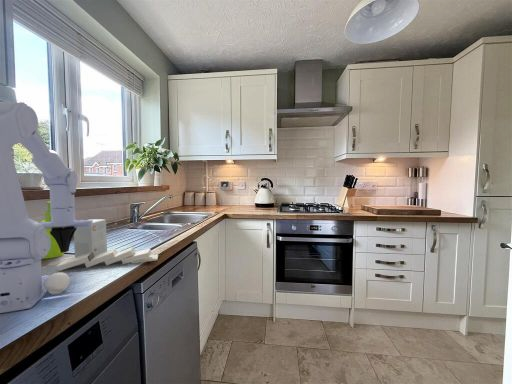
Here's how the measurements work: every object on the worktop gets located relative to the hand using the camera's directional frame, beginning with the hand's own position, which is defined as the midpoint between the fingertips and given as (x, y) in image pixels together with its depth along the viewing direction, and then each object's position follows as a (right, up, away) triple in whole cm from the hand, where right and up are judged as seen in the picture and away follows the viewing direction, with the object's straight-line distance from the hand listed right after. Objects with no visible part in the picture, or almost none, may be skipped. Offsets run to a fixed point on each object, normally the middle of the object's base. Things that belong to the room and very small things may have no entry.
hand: (64, 251), depth 71 cm
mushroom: (+10, -7, -15) cm, 19 cm away
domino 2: (+5, -4, +2) cm, 7 cm away
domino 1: (-1, -4, 0) cm, 5 cm away
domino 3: (+10, -4, +4) cm, 12 cm away
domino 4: (+15, -4, +6) cm, 17 cm away
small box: (0, -5, +12) cm, 13 cm away
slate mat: (+5, -6, +2) cm, 8 cm away
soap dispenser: (-15, -5, +13) cm, 20 cm away
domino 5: (+17, -5, +7) cm, 19 cm away
